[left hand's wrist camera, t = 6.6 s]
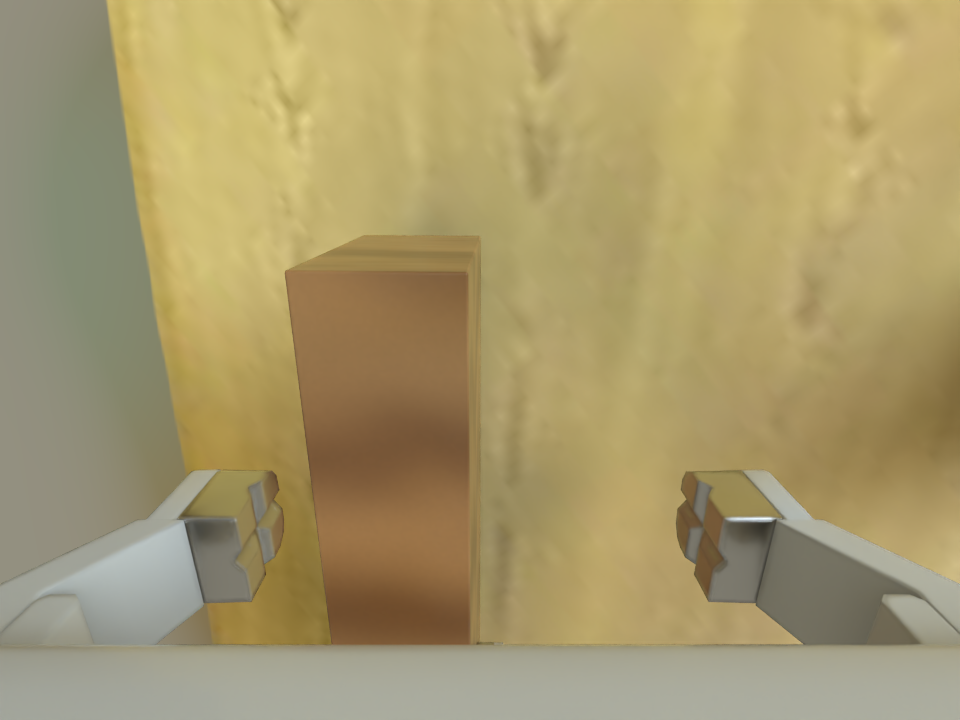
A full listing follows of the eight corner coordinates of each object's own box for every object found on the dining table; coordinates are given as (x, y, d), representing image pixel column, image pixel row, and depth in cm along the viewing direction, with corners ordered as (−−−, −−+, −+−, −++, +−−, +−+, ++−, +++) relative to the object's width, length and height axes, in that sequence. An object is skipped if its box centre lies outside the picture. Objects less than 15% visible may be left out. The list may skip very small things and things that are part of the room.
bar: (362, 235, 25) (283, 270, 16) (480, 235, 24) (468, 272, 15) (391, 626, 33) (350, 796, 24) (480, 629, 33) (471, 801, 24)
